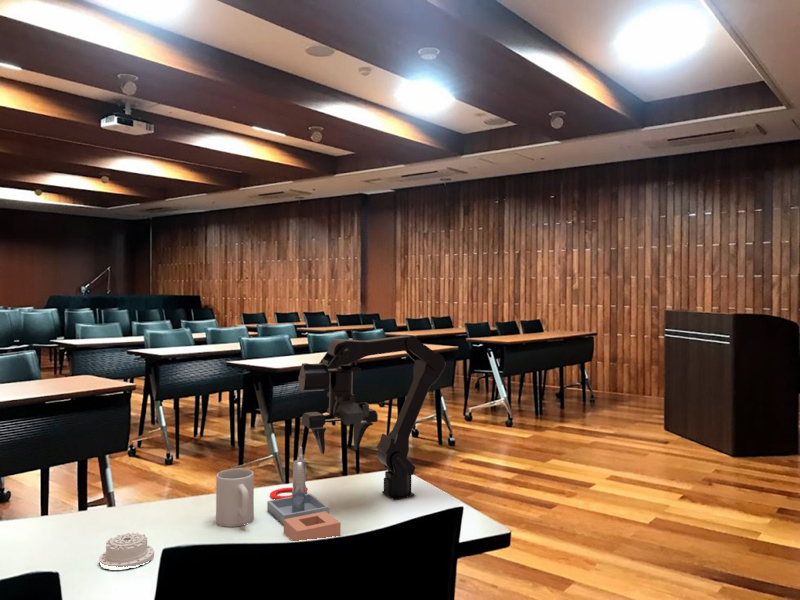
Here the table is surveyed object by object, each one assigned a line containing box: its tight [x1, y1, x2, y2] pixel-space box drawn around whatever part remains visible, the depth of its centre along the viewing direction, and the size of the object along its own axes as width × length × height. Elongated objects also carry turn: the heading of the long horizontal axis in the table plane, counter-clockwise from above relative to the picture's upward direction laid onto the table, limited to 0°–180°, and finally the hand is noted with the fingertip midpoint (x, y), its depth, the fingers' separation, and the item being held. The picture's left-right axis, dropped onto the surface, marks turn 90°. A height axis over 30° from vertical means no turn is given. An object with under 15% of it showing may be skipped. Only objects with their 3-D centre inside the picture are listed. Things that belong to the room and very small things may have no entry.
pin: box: [291, 459, 307, 513], centre depth 151 cm, size 3×3×12 cm
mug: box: [215, 468, 255, 528], centre depth 146 cm, size 12×8×11 cm
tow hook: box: [269, 446, 309, 500], centre depth 165 cm, size 8×13×9 cm
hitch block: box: [283, 511, 341, 542], centre depth 139 cm, size 10×8×3 cm
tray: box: [266, 493, 330, 527], centre depth 151 cm, size 11×11×2 cm
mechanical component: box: [99, 532, 155, 567], centre depth 126 cm, size 10×4×10 cm
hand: (339, 451), depth 159 cm, fingers open, 9 cm apart
